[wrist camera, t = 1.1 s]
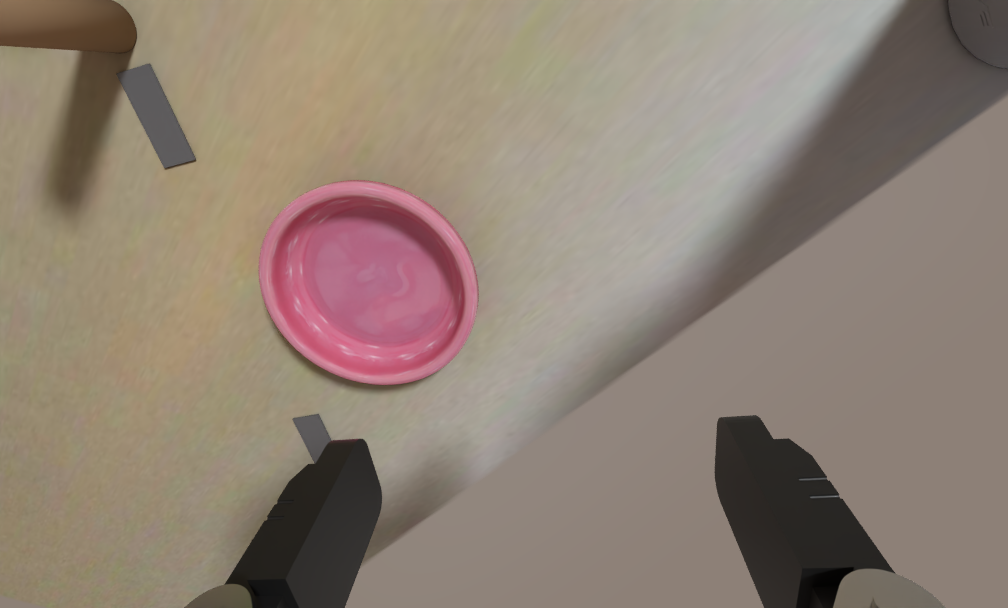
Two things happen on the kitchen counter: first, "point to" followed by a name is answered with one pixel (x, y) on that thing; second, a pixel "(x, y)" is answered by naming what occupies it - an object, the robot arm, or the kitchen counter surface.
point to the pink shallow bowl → (369, 282)
